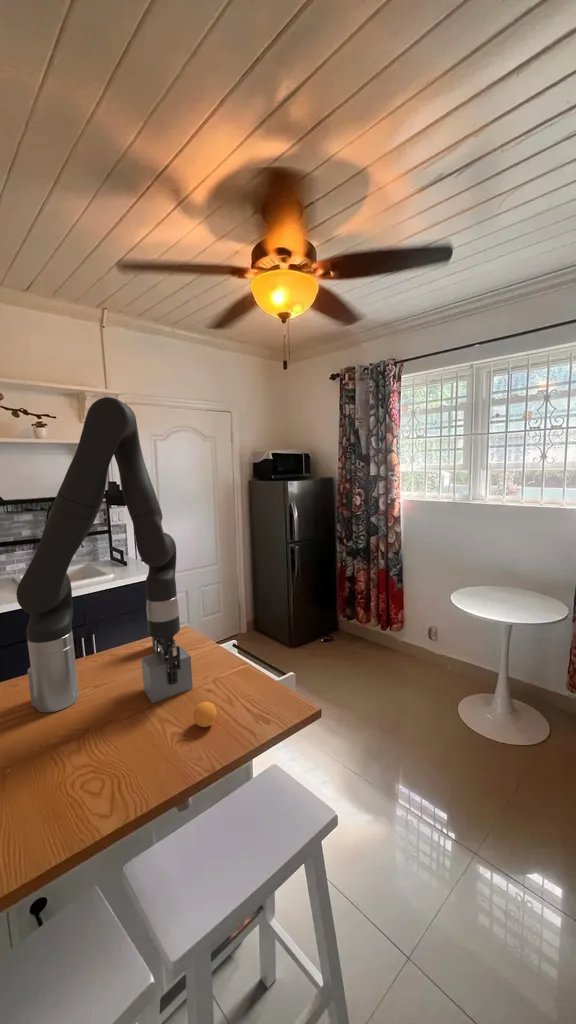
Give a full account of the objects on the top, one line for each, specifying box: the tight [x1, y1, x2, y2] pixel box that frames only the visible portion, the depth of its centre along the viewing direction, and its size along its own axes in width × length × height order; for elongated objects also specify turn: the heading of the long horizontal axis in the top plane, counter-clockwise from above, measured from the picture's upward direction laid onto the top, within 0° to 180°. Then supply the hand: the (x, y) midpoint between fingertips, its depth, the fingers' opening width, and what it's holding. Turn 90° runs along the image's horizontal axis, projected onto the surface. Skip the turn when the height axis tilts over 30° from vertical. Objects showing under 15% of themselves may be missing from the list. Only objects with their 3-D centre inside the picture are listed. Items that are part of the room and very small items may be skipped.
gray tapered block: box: [140, 645, 194, 704], centre depth 104 cm, size 10×7×9 cm, turn 125°
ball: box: [192, 701, 218, 728], centre depth 90 cm, size 5×5×5 cm
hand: (167, 677), depth 104 cm, fingers closed on gray tapered block, 7 cm apart
